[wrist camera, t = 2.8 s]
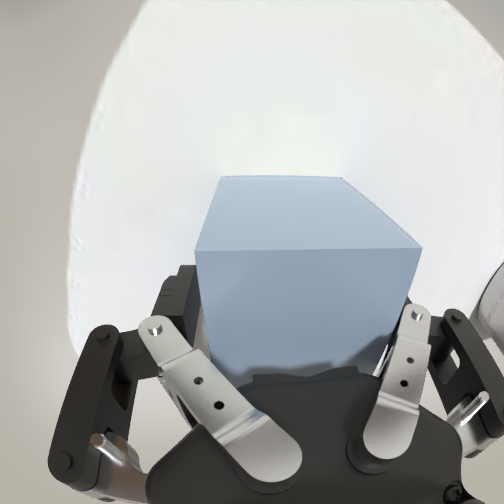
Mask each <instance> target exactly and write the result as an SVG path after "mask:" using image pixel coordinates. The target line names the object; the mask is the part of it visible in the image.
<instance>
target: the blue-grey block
mask: <svg viewBox="0 0 504 504" xmlns="http://www.w3.org/2000/svg"><path fill="white" fill-rule="evenodd" d="M421 252H422V247H421V246H420V245H419V244H418V243H417V242H416V241H415V240H414V239H413V238H412V237H411V236H410V235H409V234H408V233H406V232H405V231H404V230H403V229H402V228H401V227H400V226H399V225H398V224H397V223H396V222H394V221H393V220H392V219H391V218H390V217H389V216H388V215H386V214H385V213H384V212H383V211H382V210H381V209H380V208H378V207H377V206H376V205H375V204H374V203H372V202H371V201H370V200H369V199H368V198H366V197H365V196H364V195H363V194H361V193H360V192H359V191H358V190H357V189H355V188H354V187H353V186H351V185H350V184H349V183H348V182H346V181H345V180H344V179H342V178H337V177H315V176H221V178H220V181H219V184H218V186H217V189H216V192H215V194H214V197H213V200H212V203H211V205H210V208H209V211H208V214H207V216H206V219H205V222H204V225H203V228H202V231H201V234H200V236H199V239H198V242H197V245H196V248H195V259H196V267H197V275H198V282H199V289H200V296H201V303H202V309H203V316H204V322H205V328H206V334H207V340H208V345H209V351H210V357H211V362H212V364H213V365H214V366H215V367H216V368H217V369H218V370H219V371H220V372H221V374H222V375H223V376H224V377H225V378H226V379H227V380H228V381H229V382H230V383H231V384H232V385H233V386H234V387H235V388H237V387H239V386H242V385H244V384H247V383H251V382H253V374H276V373H281V374H288V375H296V376H304V377H309V376H312V375H315V374H318V373H321V372H324V371H327V370H330V369H332V368H340V367H347V366H354V365H356V366H357V368H358V371H359V372H360V373H366V374H370V375H372V374H373V372H374V371H375V369H376V367H377V365H378V363H379V361H380V359H381V357H382V354H383V352H384V350H385V348H386V346H387V344H388V342H389V339H390V337H391V335H392V332H393V330H394V328H395V325H396V323H397V321H398V318H399V316H400V313H401V311H402V308H403V306H404V303H405V300H406V298H407V295H408V292H409V289H410V286H411V283H412V281H413V278H414V275H415V271H416V268H417V265H418V262H419V259H420V255H421Z"/></svg>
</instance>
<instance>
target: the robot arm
mask: <svg viewBox="0 0 504 504" xmlns="http://www.w3.org/2000/svg"><path fill="white" fill-rule="evenodd" d="M200 302H201V296H200V289H199V282H198V275H197V267H196V265H181V266H180V268H179V271H178V274H177V276H169V277H168V278H167V279H166V280H165V281H164V282H163V285H162V287H161V291H160V293H159V297H158V298H157V301H156V303H155V306H154V309H153V311H152V314H151V317H148V318H146V319H145V320H143V321H142V322H141V323H140V325H139V327H138V329H136V330H132V331H127V332H122V333H119V331H118V329H117V328H116V327H115V326H113V325H101V326H99V327H97V328H95V329H94V330H93V331H92V332H91V333H90V334H89V336H88V339H87V341H86V343H85V346H84V348H83V351H82V353H81V356H80V358H79V361H78V363H77V366H76V368H75V371H74V374H73V376H72V379H71V382H70V384H69V387H68V390H67V393H66V396H65V399H64V402H63V405H62V408H61V412H60V415H59V418H58V422H57V425H56V428H55V432H54V435H53V440H52V443H51V447H50V451H49V456H48V467H49V470H50V472H51V474H52V475H53V476H54V477H55V478H56V479H57V480H59V481H60V482H62V483H64V484H66V485H68V486H70V487H71V488H72V489H74V490H76V491H78V492H80V493H83V494H85V495H87V496H90V497H92V498H97V499H99V500H101V501H105V502H112V501H115V500H119V501H124V502H128V503H133V504H485V503H484V502H482V501H480V500H478V499H476V498H474V497H473V496H471V495H470V494H469V493H468V492H467V491H466V490H465V489H464V487H463V484H462V481H461V460H462V457H466V458H473V457H475V456H476V455H477V454H479V453H480V452H482V451H483V450H484V449H486V448H487V447H488V446H490V445H491V444H493V443H494V442H495V441H497V440H498V439H499V438H500V437H502V436H503V435H504V377H503V375H502V373H501V371H500V370H499V368H498V366H497V364H496V363H495V361H494V359H493V357H492V356H491V354H490V353H489V351H488V349H487V348H486V346H485V344H484V343H483V341H482V339H481V338H480V336H479V335H478V333H477V332H476V330H475V329H474V327H473V326H472V324H471V323H470V321H469V320H468V319H467V317H466V316H465V315H464V314H463V313H462V312H461V311H459V310H457V309H448V310H446V311H445V313H444V315H443V317H437V316H431V315H430V313H429V311H428V310H427V309H426V308H425V307H423V306H421V305H418V304H413V303H412V302H411V301H410V299H409V298H408V296H407V298H406V300H405V303H404V306H403V308H402V311H401V313H400V316H399V318H398V321H397V323H396V325H395V328H394V330H393V332H392V335H391V337H390V339H389V342H388V347H387V349H386V351H385V354H384V357H383V359H382V362H381V365H380V367H379V370H378V373H377V375H376V376H373V375H370V374H366V373H360V372H359V371H358V368H357V366H356V365H354V366H347V367H340V368H332V369H330V370H327V371H324V372H321V373H318V374H315V375H312V376H309V377H304V376H296V375H288V374H281V373H276V374H253V382H251V383H247V384H244V385H242V386H239V387H237V388H235V387H234V386H233V385H232V384H231V383H230V382H229V381H228V380H227V379H226V378H225V377H224V376H223V375H222V374H221V372H220V371H219V370H218V369H217V368H216V367H215V366H214V365H213V364H212V362H211V361H210V360H209V359H208V358H207V357H206V356H205V355H204V353H203V352H202V351H201V350H200V349H199V348H195V349H193V344H194V338H195V332H196V326H197V320H198V314H199V309H200ZM478 319H479V321H480V322H481V324H482V325H483V326H484V328H485V329H486V330H487V332H488V333H489V335H490V336H491V337H492V339H493V340H494V342H495V343H496V345H497V346H498V348H499V349H500V351H501V352H502V354H503V355H504V264H503V265H502V266H501V268H500V269H499V270H498V271H497V273H496V274H495V276H494V277H493V279H492V280H491V282H490V284H489V285H488V287H487V289H486V291H485V293H484V295H483V297H482V300H481V302H480V306H479V309H478ZM453 349H455V351H456V353H457V355H458V357H459V359H460V366H459V368H457V366H456V365H455V363H454V361H453V359H452V357H451V355H450V354H451V352H452V351H453ZM427 368H428V370H429V372H430V375H431V377H432V379H433V381H434V384H435V386H436V389H437V391H438V393H439V396H440V398H441V400H442V403H443V406H444V408H445V411H446V413H447V422H446V421H444V420H442V419H441V418H439V417H438V416H436V415H435V414H433V413H431V412H430V411H428V410H427V409H425V408H424V407H422V406H421V405H419V402H420V398H421V394H422V390H423V386H424V382H425V377H426V372H427ZM156 376H157V378H158V379H159V381H160V383H161V384H162V386H163V387H164V389H165V390H166V392H167V393H168V395H169V396H170V398H171V399H172V401H173V402H174V404H175V405H176V407H177V408H178V410H179V411H180V413H181V415H182V416H183V418H184V419H185V421H186V422H187V424H188V425H189V426H190V428H191V429H192V430H191V431H190V432H189V433H188V434H187V435H186V436H185V437H184V438H183V439H182V440H181V441H180V442H179V443H178V444H177V445H175V446H174V447H173V448H172V449H171V450H170V451H169V452H168V453H167V454H166V455H165V456H164V457H162V458H161V459H160V460H159V461H158V462H157V463H156V464H155V465H154V466H153V467H152V469H151V470H150V471H149V473H148V474H146V473H143V472H142V470H141V468H140V464H139V456H138V454H137V452H136V451H135V450H134V449H133V448H132V447H131V446H130V445H129V444H128V443H127V441H128V434H129V428H130V421H131V416H132V410H133V404H134V399H135V394H136V389H137V384H138V380H140V379H146V378H151V377H156Z"/></svg>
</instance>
